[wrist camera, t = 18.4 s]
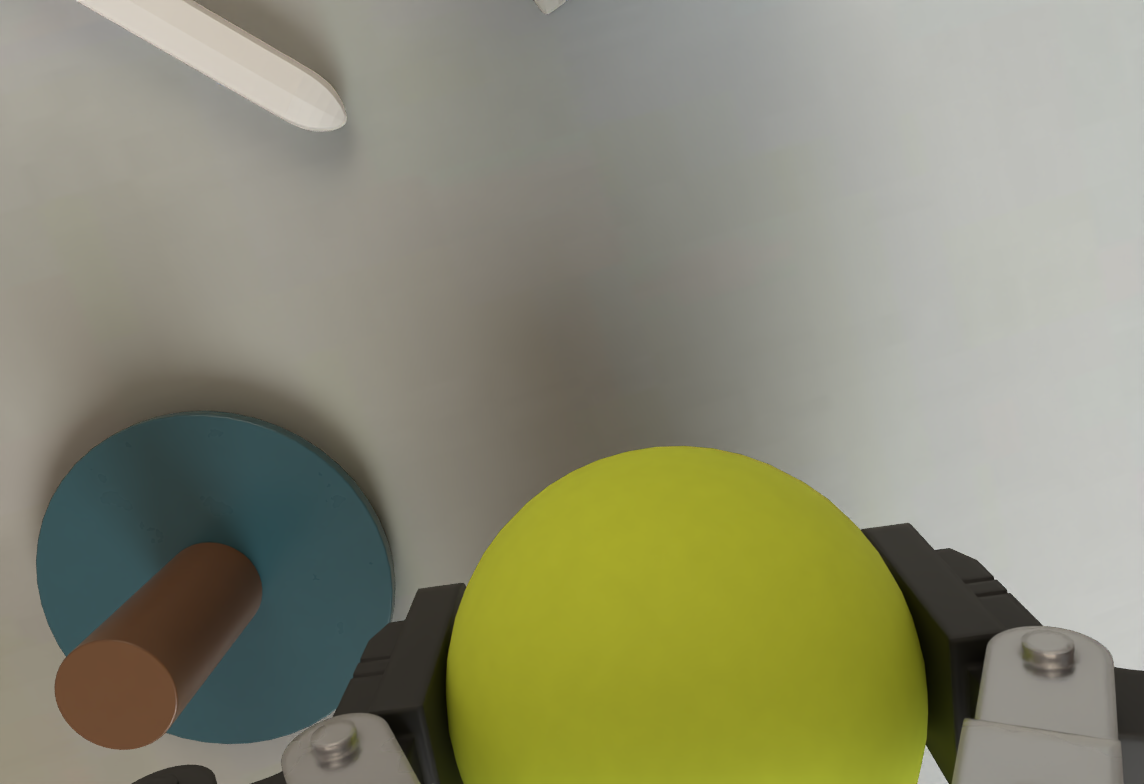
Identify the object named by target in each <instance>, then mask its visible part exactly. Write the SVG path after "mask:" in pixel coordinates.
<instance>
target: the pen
mask: <svg viewBox="0 0 1144 784" xmlns="http://www.w3.org/2000/svg"><path fill="white" fill-rule="evenodd" d="M75 1H77V2H79V3H81V4H82V5H84V6H86V7H88V8H89V9H91V10H93V11H95V12H96V13H98V14H100V15H102V16H103V17H105V18H107V19H109V20H110V21H112V22H114V23H115V24H117V25H119V26H121V27H122V28H124V29H126V30H128V31H129V32H131V33H133V34H135V35H136V36H138V37H140V38H142V39H143V40H145V41H147V42H149V43H150V44H152V45H154V46H155V47H157V48H159V49H161V50H162V51H164V52H166V53H168V54H169V55H171V56H173V57H175V58H176V59H178V60H180V61H182V62H183V63H185V64H187V65H189V66H190V67H192V68H194V69H195V70H197V71H199V72H201V73H202V74H204V75H206V76H208V77H209V78H211V79H213V80H215V81H216V82H218V83H220V84H222V85H223V86H225V87H227V88H228V89H230V90H232V91H234V92H235V93H237V94H239V95H241V96H242V97H244V98H246V99H248V100H249V101H251V102H253V103H255V104H256V105H258V106H260V107H262V108H263V109H265V110H267V111H269V112H270V113H272V114H274V115H276V116H278V117H279V118H281V119H283V120H285V121H286V122H288V123H290V124H292V125H295V126H297V127H299V128H302V129H306V130H309V131H317V132H323V131H332V130H335V129H338V128H341V127H342V126H343V125H344V124H346V119H347V115H346V111H345V107H344V104H343V103H342V101H341V99H340V97H339V95H338V93H337V92H336V91H335V89H334V88H333V87H332V86H331V85H330V84H329V83H328V82H327V81H326V80H325V79H324V78H322V77H321V76H320V75H318V74H317V73H316V72H314V71H313V70H311V69H309V68H308V67H306V66H304V65H303V64H301V63H299V62H298V61H296V60H294V59H292V58H291V57H289V56H287V55H285V54H284V53H282V52H280V51H279V50H277V49H275V48H273V47H272V46H270V45H268V44H267V43H265V42H263V41H261V40H260V39H258V38H256V37H255V36H253V35H251V34H249V33H248V32H246V31H244V30H243V29H241V28H239V27H237V26H236V25H234V24H232V23H231V22H229V21H227V20H225V19H224V18H222V17H220V16H219V15H217V14H215V13H214V12H212V11H210V10H208V9H207V8H205V7H203V6H202V5H200V4H198V3H196V2H195V1H193V0H75Z"/></svg>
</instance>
